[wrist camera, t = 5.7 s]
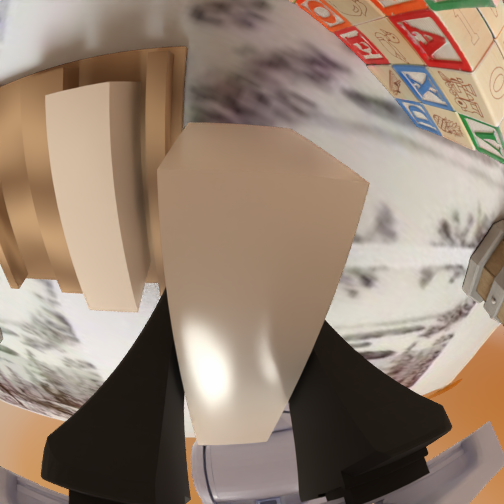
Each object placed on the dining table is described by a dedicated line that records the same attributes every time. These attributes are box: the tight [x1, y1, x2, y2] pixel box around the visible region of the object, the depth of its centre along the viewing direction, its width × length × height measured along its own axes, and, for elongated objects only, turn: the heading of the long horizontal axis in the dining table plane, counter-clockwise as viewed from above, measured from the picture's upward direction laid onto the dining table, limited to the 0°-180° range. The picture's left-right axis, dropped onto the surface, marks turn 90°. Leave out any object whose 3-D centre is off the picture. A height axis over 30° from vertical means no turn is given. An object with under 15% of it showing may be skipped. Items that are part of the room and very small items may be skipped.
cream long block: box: [45, 81, 151, 312], centre depth 13 cm, size 12×3×5 cm, turn 175°
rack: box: [0, 46, 187, 296], centre depth 14 cm, size 16×16×3 cm
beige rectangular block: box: [157, 123, 369, 445], centre depth 9 cm, size 12×3×5 cm, turn 175°
